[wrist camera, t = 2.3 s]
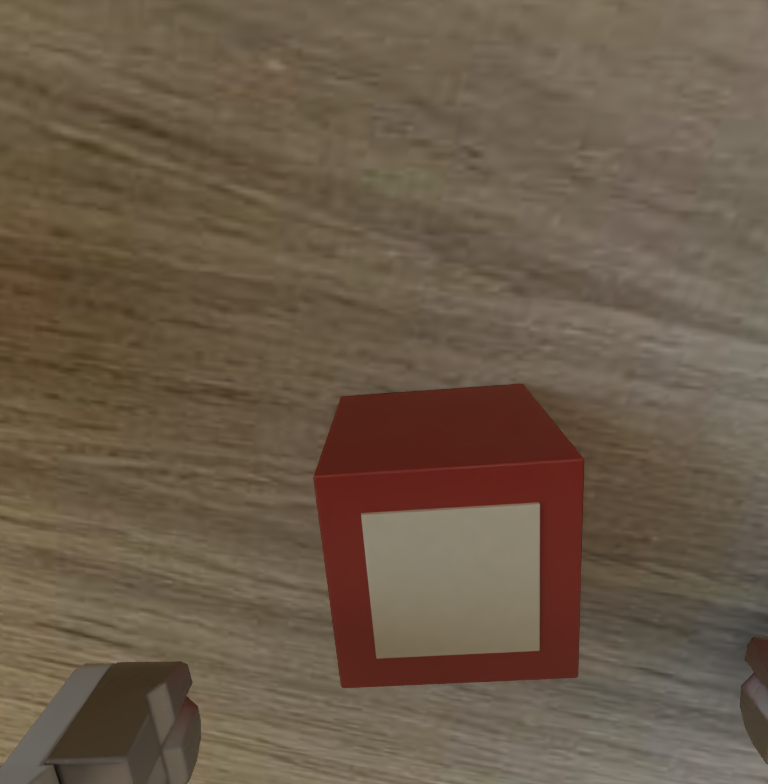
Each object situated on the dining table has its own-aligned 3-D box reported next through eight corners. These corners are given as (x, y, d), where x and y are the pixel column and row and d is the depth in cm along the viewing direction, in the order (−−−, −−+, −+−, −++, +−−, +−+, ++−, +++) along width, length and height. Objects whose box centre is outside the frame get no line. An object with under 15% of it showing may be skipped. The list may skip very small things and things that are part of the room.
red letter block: (340, 396, 13) (312, 478, 9) (523, 382, 13) (586, 459, 9) (357, 553, 14) (340, 692, 10) (524, 543, 14) (580, 682, 10)
